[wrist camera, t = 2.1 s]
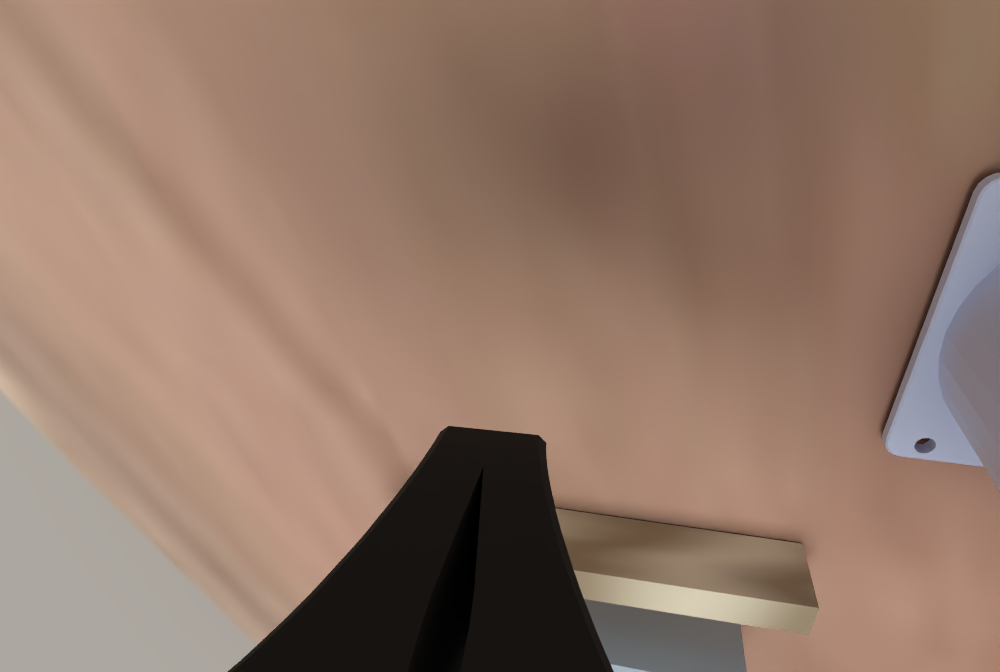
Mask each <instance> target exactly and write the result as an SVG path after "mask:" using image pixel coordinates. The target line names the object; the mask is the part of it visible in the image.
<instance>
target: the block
mask: <svg viewBox="0 0 1000 672" xmlns="http://www.w3.org/2000/svg"><path fill="white" fill-rule="evenodd" d="M584 600H585V603H586V605H587V608H588V611H589V613H590V616H591V618H592V621H593V623H594V626H595V629H596V631H597V633H598V636H599V638H600V641H601V643H602V645H603V648H604V650H605V653H606V655H607V657H608V659H609V662H610V664H611V666H612V669H613V671H614V672H747V671H746V664H745V656H744V649H743V641H742V634H741V626H740V624H737V623H731V622H724V621H718V620H712V619H706V618H699V617H693V616H687V615H681V614H674V613H668V612H662V611H656V610H649V609H643V608H637V607H631V606H624V605H618V604H612V603H606V602H599V601H593V600H587V599H584Z"/></svg>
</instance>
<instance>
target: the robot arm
mask: <svg viewBox="0 0 1000 672" xmlns="http://www.w3.org/2000/svg"><path fill="white" fill-rule="evenodd" d="M922 438H930V439H929V441H928V442H926V443H924V444H915V443H916V442H917V441H918V440H920V439H922ZM882 440H883V442H884V444H885V446H886V448H887V450H888V451H889V452H890V453H891V454H893V455H897V456H901V457H909V458H917V459H925V460H933V461H941V462H949V463H957V464H965V465H973V466H981V467H985V469H986V470H987V472H988V474H989V475H990V477H991V478H992V480H993V482H994V483H995V485H996V486H997V488H998V490H999V491H1000V173H994V174H992V175H990V176H988V177H986V178H984V179H983V180H982V181H981V182H980V183H978V185H977V186H976V188H975V190H974V191H973V194H972V196H971V199H970V202H969V204H968V207H967V210H966V212H965V215H964V218H963V220H962V223H961V226H960V228H959V231H958V234H957V236H956V239H955V242H954V244H953V247H952V250H951V252H950V255H949V258H948V260H947V263H946V266H945V268H944V271H943V274H942V276H941V279H940V282H939V284H938V287H937V290H936V292H935V295H934V298H933V300H932V303H931V306H930V308H929V311H928V314H927V316H926V319H925V322H924V324H923V327H922V330H921V332H920V335H919V338H918V340H917V343H916V346H915V348H914V351H913V354H912V356H911V359H910V362H909V364H908V367H907V370H906V372H905V375H904V378H903V380H902V383H901V386H900V388H899V391H898V394H897V396H896V399H895V402H894V404H893V407H892V410H891V412H890V415H889V418H888V420H887V423H886V426H885V428H884V431H883V435H882ZM228 672H614V671H613V669H612V666H611V664H610V662H609V659H608V657H607V655H606V653H605V650H604V648H603V645H602V643H601V641H600V638H599V636H598V633H597V631H596V629H595V626H594V623H593V621H592V618H591V616H590V613H589V611H588V608H587V605H586V603H585V600H584V598H583V595H582V592H581V589H580V587H579V584H578V581H577V578H576V575H575V573H574V570H573V566H572V563H571V560H570V557H569V554H568V550H567V547H566V544H565V541H564V538H563V535H562V531H561V528H560V524H559V521H558V517H557V513H556V509H555V505H554V500H553V496H552V491H551V487H550V481H549V476H548V469H547V459H546V442H545V441H544V440H543V439H542V438H541V437H540V436H539V435H531V434H522V433H512V432H502V431H492V430H483V429H473V428H463V427H453V426H448V427H447V428H445V429H444V430H442V431H441V432H440V433H439V435H438V437H437V438H436V440H435V442H434V443H433V445H432V446H431V448H430V449H429V451H428V452H427V454H426V455H425V457H424V458H423V460H422V461H421V463H420V464H419V465H418V467H417V468H416V470H415V471H414V472H413V474H412V475H411V476H410V478H409V479H408V480H407V482H406V483H405V484H404V486H403V487H402V488H401V490H400V491H399V492H398V494H397V495H396V496H395V497H394V499H393V500H392V501H391V502H390V504H389V505H388V506H387V507H386V509H385V510H384V511H383V512H382V513H381V515H380V516H379V517H378V518H377V520H376V521H375V522H374V523H373V525H372V526H371V527H370V528H369V529H368V531H367V532H366V533H365V534H364V535H363V537H362V538H361V539H360V540H359V541H358V542H357V544H356V545H355V546H354V547H353V548H352V549H351V550H350V551H349V552H348V553H347V555H346V556H345V557H344V558H343V559H342V560H341V561H340V562H339V563H338V564H337V565H336V567H335V568H334V569H333V570H332V571H331V572H330V573H329V574H328V575H327V576H326V577H325V579H324V580H323V581H322V582H321V583H320V584H319V585H318V586H317V587H316V588H315V589H314V590H313V591H312V593H311V594H310V595H309V596H308V597H307V598H306V599H305V600H304V601H303V602H302V603H301V604H300V605H299V606H298V607H297V608H296V609H295V610H294V611H293V612H292V613H291V614H290V615H289V616H288V617H287V618H286V619H285V620H284V621H283V622H281V623H280V624H279V625H278V626H277V627H276V628H275V629H274V630H273V631H272V632H271V633H270V634H269V635H268V636H267V637H266V638H265V639H263V640H262V641H261V642H260V643H259V644H258V645H257V646H256V647H255V648H254V649H253V650H252V651H251V652H250V653H248V655H246V656H245V657H244V658H243V659H242V660H241V661H240V662H238V663H237V664H236V665H235V666H234V667H233V668H232V669H230V670H229V671H228Z"/></svg>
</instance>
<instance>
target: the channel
mask: <svg viewBox="0 0 1000 672" xmlns="http://www.w3.org/2000/svg"><path fill="white" fill-rule="evenodd" d="M555 509H556V513H557V517H558V521H559V524H560V528H561V531H562V535H563V538H564V541H565V544H566V547H567V550H568V554H569V557H570V560H571V563H572V566H573V570H574V573H575V575H576V578H577V581H578V584H579V587H580V589H581V592H582V595H583V598H584V599H587V600H593V601H599V602H606V603H612V604H618V605H624V606H631V607H637V608H643V609H649V610H656V611H662V612H668V613H674V614H681V615H687V616H693V617H699V618H706V619H712V620H718V621H724V622H731V623H737V624H743V625H749V626H756V627H762V628H768V629H774V630H781V631H787V632H793V633H799V634H806V635H809V633H810V630H811V628H812V625H813V622H814V620H815V617H816V614H817V612H818V609H819V607H818V603H817V599H816V595H815V591H814V587H813V583H812V579H811V575H810V571H809V567H808V563H807V559H806V555H805V551H804V547H803V544H801V543H794V542H787V541H780V540H773V539H766V538H759V537H752V536H745V535H738V534H731V533H724V532H717V531H710V530H703V529H696V528H689V527H682V526H675V525H668V524H661V523H654V522H647V521H640V520H633V519H627V518H620V517H613V516H606V515H599V514H592V513H585V512H578V511H571V510H564V509H557V508H555Z"/></svg>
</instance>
